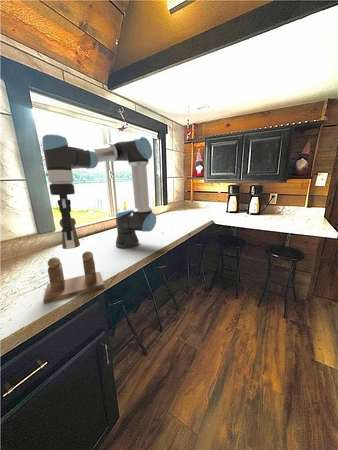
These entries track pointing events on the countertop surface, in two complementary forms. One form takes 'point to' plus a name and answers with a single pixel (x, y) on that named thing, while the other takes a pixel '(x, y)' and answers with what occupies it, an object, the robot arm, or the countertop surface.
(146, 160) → the robot arm
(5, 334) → the countertop surface
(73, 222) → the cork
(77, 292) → the wooden peg board
